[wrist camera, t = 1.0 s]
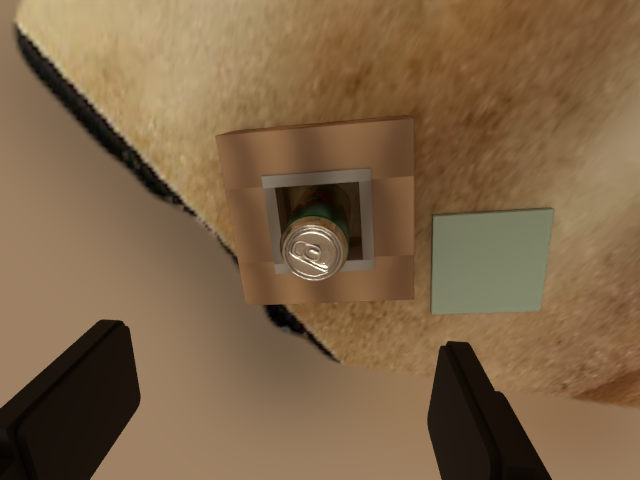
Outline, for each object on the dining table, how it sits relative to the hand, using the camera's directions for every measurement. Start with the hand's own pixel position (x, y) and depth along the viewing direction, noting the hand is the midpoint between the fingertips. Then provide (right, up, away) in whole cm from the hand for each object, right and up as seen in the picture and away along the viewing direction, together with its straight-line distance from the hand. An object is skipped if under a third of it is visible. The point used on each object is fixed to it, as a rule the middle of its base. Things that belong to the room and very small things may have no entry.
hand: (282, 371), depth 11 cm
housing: (+2, +7, +26) cm, 27 cm away
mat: (+18, +2, +27) cm, 32 cm away
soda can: (+2, +7, +26) cm, 27 cm away
